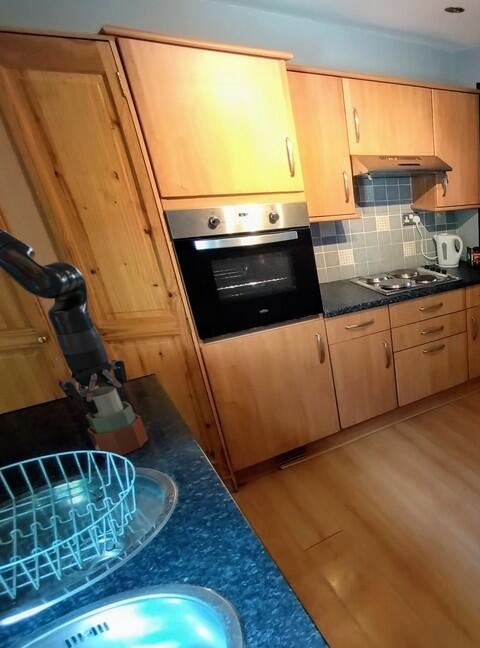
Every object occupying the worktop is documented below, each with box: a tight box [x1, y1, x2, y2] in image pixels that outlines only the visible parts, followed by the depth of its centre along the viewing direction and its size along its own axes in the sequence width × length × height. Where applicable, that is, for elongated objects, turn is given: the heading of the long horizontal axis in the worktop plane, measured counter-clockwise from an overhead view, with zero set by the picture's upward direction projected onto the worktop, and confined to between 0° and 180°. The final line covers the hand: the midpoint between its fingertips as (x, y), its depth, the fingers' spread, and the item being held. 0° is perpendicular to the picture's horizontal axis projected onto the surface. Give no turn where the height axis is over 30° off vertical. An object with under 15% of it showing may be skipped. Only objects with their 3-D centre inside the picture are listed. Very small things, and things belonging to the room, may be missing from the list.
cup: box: [92, 386, 124, 418], centre depth 116 cm, size 6×6×9 cm
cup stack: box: [85, 400, 149, 458], centre depth 118 cm, size 10×10×11 cm
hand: (106, 406), depth 116 cm, fingers closed on cup, 5 cm apart
